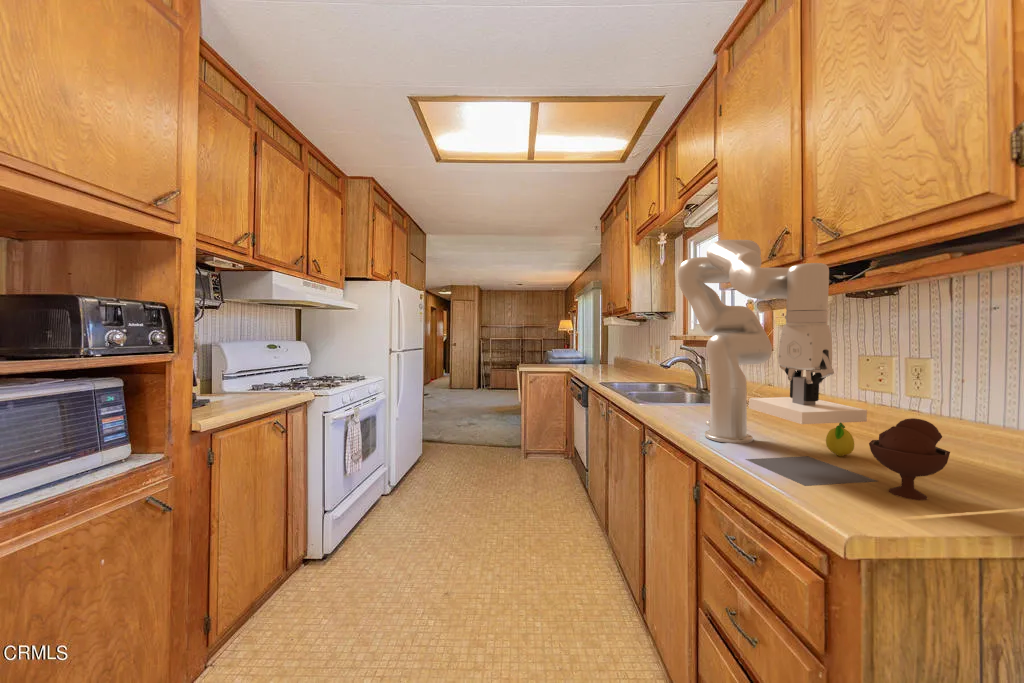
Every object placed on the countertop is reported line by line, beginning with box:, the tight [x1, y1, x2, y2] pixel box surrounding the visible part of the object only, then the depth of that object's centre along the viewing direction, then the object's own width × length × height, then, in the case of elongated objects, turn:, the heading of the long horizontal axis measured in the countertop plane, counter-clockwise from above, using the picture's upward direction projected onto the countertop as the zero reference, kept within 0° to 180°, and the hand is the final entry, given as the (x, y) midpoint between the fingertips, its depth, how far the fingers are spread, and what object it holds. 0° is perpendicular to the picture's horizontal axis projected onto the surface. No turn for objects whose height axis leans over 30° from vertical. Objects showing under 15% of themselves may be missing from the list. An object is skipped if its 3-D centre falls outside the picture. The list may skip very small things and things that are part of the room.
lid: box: [748, 376, 868, 425], centre depth 89 cm, size 15×15×8 cm
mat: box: [744, 455, 879, 487], centre depth 88 cm, size 17×17×1 cm
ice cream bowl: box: [868, 417, 951, 501], centre depth 74 cm, size 11×11×15 cm
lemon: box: [825, 423, 855, 457], centre depth 98 cm, size 7×6×10 cm
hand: (803, 398), depth 89 cm, fingers closed on lid, 3 cm apart
